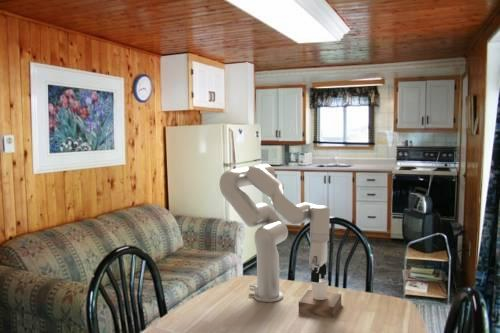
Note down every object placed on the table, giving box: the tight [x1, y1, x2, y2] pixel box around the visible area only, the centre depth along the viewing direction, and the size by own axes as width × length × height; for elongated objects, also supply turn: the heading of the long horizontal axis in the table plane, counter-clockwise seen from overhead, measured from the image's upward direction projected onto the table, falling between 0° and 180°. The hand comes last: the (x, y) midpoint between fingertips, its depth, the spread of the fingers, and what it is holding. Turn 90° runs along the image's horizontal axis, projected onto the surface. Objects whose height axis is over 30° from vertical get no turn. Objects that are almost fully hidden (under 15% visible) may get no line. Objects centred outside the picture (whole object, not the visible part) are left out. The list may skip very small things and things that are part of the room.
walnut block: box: [298, 289, 342, 319], centre depth 181 cm, size 14×14×5 cm
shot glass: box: [310, 277, 329, 300], centre depth 181 cm, size 7×7×7 cm
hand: (318, 278), depth 180 cm, fingers open, 9 cm apart
